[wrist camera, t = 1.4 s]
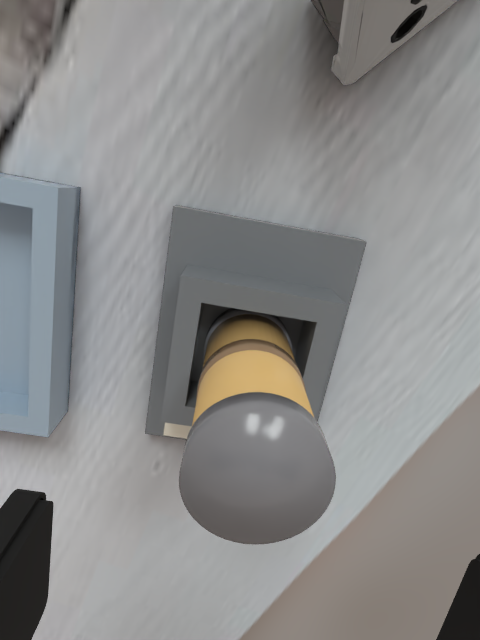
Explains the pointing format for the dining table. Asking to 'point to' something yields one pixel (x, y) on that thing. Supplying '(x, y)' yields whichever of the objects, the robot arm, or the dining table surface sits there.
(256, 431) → the fuse
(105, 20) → the dining table surface
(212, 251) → the grey square socket holder
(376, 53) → the electrical switch
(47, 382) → the tray
